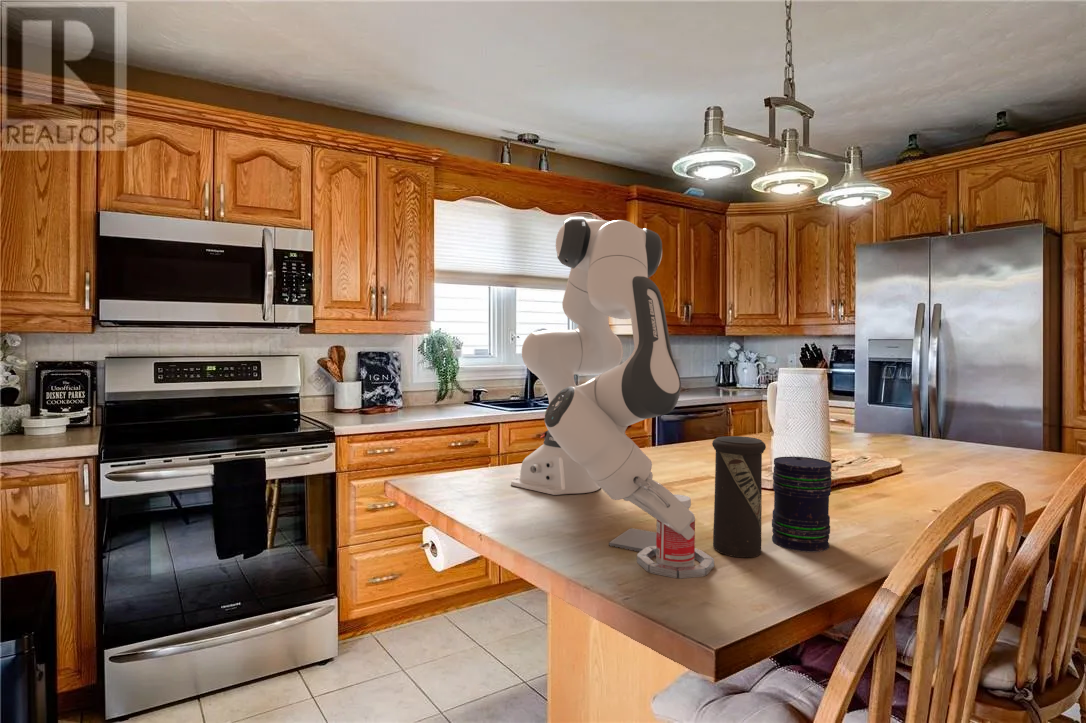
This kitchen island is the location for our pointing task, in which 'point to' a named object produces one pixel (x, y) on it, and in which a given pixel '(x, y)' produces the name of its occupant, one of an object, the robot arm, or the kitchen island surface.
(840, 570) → the kitchen island surface
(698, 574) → the collar
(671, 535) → the pill bottle
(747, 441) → the container
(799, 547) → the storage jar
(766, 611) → the kitchen island surface
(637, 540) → the coaster
